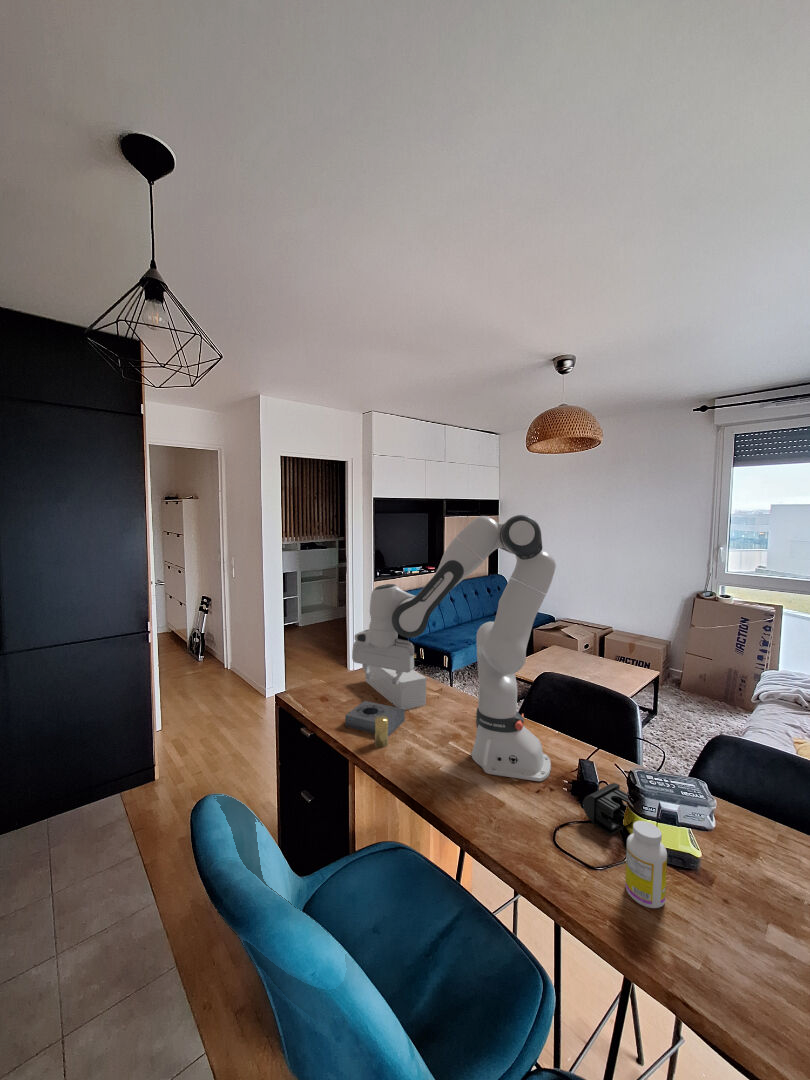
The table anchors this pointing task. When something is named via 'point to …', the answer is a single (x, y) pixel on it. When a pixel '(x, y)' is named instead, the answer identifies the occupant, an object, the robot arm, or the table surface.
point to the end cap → (606, 808)
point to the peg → (381, 731)
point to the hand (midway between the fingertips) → (382, 680)
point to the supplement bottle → (646, 865)
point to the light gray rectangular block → (399, 687)
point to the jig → (367, 713)
